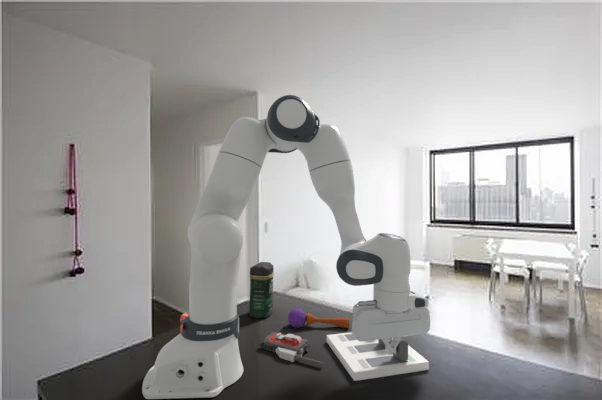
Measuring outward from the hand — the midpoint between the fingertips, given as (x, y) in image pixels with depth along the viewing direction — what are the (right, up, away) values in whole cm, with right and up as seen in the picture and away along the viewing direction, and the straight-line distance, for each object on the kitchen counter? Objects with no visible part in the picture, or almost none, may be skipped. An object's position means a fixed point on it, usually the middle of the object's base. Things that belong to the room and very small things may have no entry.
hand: (390, 353), depth 78 cm
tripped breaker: (+3, -1, +1) cm, 3 cm away
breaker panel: (-3, -4, +7) cm, 8 cm away
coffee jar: (-37, -3, +35) cm, 51 cm away
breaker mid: (+1, -1, +7) cm, 8 cm away
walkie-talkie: (-24, -4, +7) cm, 26 cm away
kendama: (-17, -4, +24) cm, 30 cm away
